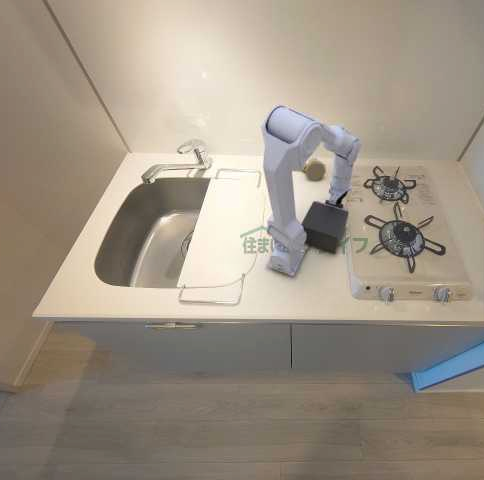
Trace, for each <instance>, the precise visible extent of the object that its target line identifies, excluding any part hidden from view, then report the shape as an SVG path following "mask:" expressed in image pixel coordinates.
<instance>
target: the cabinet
mask: <svg viewBox="0 0 484 480" xmlns="http://www.w3.org/2000/svg"><path fill="white" fill-rule="evenodd" d="M318 202H319V201H318ZM318 202H316V201H314V200H313V201H312V203H311V205H310V207H309V208H308V210H307V212H306V215H305V216H304V217H303V220H302V222H301V223H300V224H301V225H302V226H303V228H304V231H305V232H306V241H305V243H304V245H308V246H311V247H313V248H317V249H320V250H322V251H326V252H328V253H330V254H334V255H335V254H336V253H337V250H338V248H339V245H340V243H341V240H342V238H343V235H344V233H345V231H346V227H347V222H348V219H349V218H348V217H349V213H350V211H349V210H348V211H344V210H345V209H344V210H341V209H338V208H335V207H331V206H328V205H325V204H321V203H322V202H321V203H318Z"/></svg>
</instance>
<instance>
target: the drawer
mask: <svg viewBox="0 0 484 480" xmlns="http://www.w3.org/2000/svg"><path fill="white" fill-rule="evenodd" d="M315 202H318V203H321V204H325V205H328V206H331V207H335V208H338V209H341V210H344V211H348V212H349V210H347V209H345V208H344V206H345V204H343V203H341V204H340V203H336V204H335V205H334V204H331V203H329V199H326V200H325V202H321V201H319V200H316V201H315Z"/></svg>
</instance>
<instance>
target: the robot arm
mask: <svg viewBox="0 0 484 480" xmlns="http://www.w3.org/2000/svg"><path fill="white" fill-rule="evenodd" d="M260 128H261V133H262V140H263V145H264V152H263V160H262V169H263V173H264V178H265V183H266V188H267V193H268V197H269V203H270V208H271V213H272V214H271V215H270V216H269V217H268V219H267V220H266V222H267V226H266V234H267V235H268V236H271V238H272V239H271V240H273V251H272V253H271V254H270V256H269V260H270V263H269V265H268V267H269V269H272V270H275V271H278V272H280V273H282V274H286V275H289V276H291V277H294V276H295V273H296V272H297V269H298V267H299V266H300V264H301V261H302V260H303V257H304V256H305V253H306V251H305V249H302V247H304V245H305V241H306V232H305V231H304V228H303V226H302V225H301V224H302V223H301V222H300V221H299V220H298V218H297V214H296V201H295V190H294V189H295V188H294V180H293V172H297V171H298V172H299V171H300V170H302V168H303V167H304V166H305V164H306V163H308V161H309V160H310V159H311V156H312V155H313V154H314V153H315V151H317V149H318V147H319V146H320V145H322V147H323V148H324V149H325V150H326V151H329V152H331V153H334V154H333V163H332V170H331V171H332V172H331V179H330V183H329V189H328V194H329V199H328V200H329V203H331V204H334V205H335V204H336V203H340V204H342V202H343V200H344V199H345V198H346V197H347V195H348V192H350V191H351V192H352V191H353V189H354V185H353V184H351V181H352V180H351V179H352V174H353V168H354V164H355V163H356V162H357V158H358V156H359V153H360V151H361V149H362V142H361V141H360V138H359V137H356V136H355V135H352V132H351V131H349V130H347V129H346V127H345V126H344V125H342V124H339V123H338V124H337V125H334V124H333V125H327V124H326V123H325V122H323V121H322V120H320V119H318V118H316V117H314V116H311V115H310V114H307V113H304V112H301V111H299V110H297V109H293V108H287V107H286V106H285V105H282V104H276V105H274V106H273V107H272V108H271V109H269V111H268V112H267V115H266V117H265V118H264V121H263V122H262V124H261V126H260ZM345 129H346V130H345Z"/></svg>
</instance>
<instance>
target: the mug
mask: <svg viewBox="0 0 484 480" xmlns="http://www.w3.org/2000/svg"><path fill="white" fill-rule="evenodd" d="M301 170H302V171H303V172H305V174H306V176H307V177H308V178H309V179H310V180H313V181H318V180H321V179H322V178H323V177H324V175H325V174H326V167H325V164H324V163H323V162H322V161H320V160H318V158H316V157H310V158H309V159H308V160H307V164H306V165H305V164H304V165H303V167H302V168H301Z"/></svg>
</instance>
